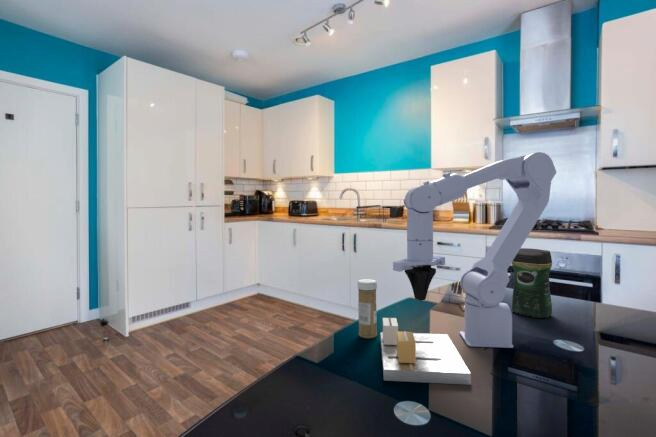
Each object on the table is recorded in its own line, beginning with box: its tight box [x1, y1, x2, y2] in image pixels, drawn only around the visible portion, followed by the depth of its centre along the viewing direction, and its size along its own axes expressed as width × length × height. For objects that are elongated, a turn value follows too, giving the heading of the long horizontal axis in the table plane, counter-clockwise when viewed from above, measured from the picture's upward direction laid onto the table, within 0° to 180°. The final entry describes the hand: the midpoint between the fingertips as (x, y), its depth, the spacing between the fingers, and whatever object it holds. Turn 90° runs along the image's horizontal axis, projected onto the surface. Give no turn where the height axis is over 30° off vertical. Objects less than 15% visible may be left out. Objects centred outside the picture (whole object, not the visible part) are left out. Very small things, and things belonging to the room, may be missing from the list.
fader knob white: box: [382, 317, 399, 345], centre depth 74 cm, size 3×5×4 cm, turn 173°
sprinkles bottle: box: [357, 278, 378, 339], centre depth 82 cm, size 5×5×14 cm
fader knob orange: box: [397, 330, 416, 363], centre depth 66 cm, size 3×5×4 cm, turn 173°
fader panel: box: [380, 331, 472, 386], centre depth 69 cm, size 15×18×2 cm
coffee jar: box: [511, 247, 553, 319], centre depth 96 cm, size 10×8×19 cm
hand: (420, 299), depth 78 cm, fingers closed
